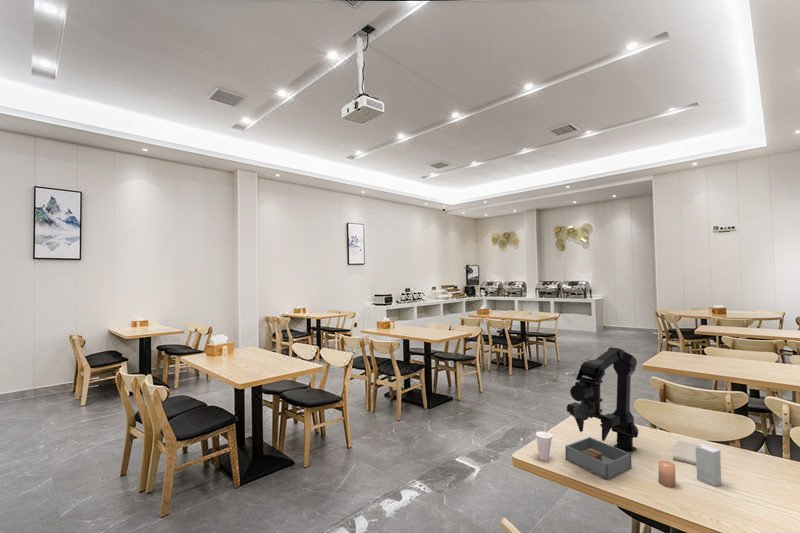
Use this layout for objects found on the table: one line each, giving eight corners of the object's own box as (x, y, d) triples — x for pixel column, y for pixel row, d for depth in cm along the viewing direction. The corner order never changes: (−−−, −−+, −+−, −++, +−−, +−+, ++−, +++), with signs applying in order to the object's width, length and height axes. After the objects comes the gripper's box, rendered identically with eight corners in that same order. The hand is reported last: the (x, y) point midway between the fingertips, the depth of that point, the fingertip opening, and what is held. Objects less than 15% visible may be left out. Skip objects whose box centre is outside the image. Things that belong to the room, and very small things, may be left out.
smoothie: (553, 463, 158) (553, 427, 157) (536, 461, 159) (536, 426, 159) (551, 455, 164) (550, 421, 164) (534, 454, 165) (534, 420, 165)
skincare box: (721, 484, 142) (721, 449, 142) (714, 487, 140) (714, 452, 140) (702, 475, 148) (702, 442, 147) (695, 478, 146) (695, 445, 145)
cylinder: (662, 478, 146) (662, 459, 146) (678, 484, 142) (678, 465, 142) (655, 482, 143) (655, 462, 143) (670, 489, 139) (670, 469, 139)
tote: (589, 450, 168) (589, 436, 168) (631, 468, 153) (631, 453, 153) (565, 459, 160) (565, 445, 160) (607, 480, 145) (607, 464, 145)
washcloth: (711, 453, 166) (711, 445, 166) (710, 471, 152) (710, 463, 152) (676, 445, 173) (676, 437, 173) (672, 461, 159) (672, 453, 159)
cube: (590, 460, 158) (590, 447, 158) (602, 466, 154) (602, 453, 154) (582, 464, 156) (582, 451, 155) (594, 469, 151) (594, 456, 151)
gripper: (557, 392, 158) (557, 432, 158) (602, 407, 142) (602, 451, 142) (575, 387, 164) (575, 426, 164) (620, 401, 148) (620, 443, 148)
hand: (592, 436), depth 154 cm, fingers open, 9 cm apart
